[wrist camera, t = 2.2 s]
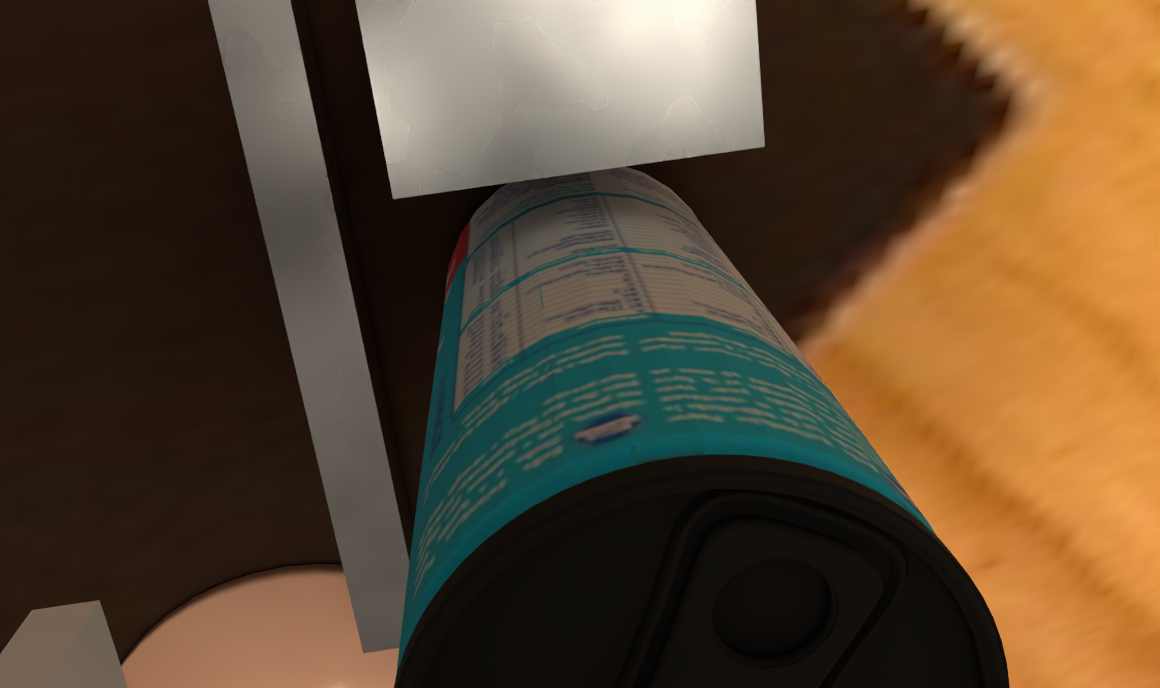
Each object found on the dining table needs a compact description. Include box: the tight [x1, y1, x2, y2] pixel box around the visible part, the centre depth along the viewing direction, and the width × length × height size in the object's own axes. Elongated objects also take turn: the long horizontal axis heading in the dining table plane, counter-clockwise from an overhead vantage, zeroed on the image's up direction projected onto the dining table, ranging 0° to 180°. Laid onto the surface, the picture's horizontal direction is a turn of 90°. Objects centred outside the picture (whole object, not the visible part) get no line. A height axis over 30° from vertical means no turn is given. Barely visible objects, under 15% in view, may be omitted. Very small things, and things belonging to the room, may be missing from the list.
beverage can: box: [394, 166, 1009, 688], centre depth 17 cm, size 6×6×15 cm
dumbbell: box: [208, 0, 765, 653], centre depth 21 cm, size 16×9×6 cm, turn 7°
